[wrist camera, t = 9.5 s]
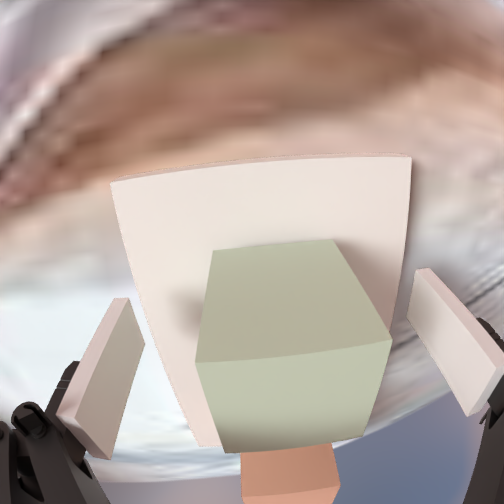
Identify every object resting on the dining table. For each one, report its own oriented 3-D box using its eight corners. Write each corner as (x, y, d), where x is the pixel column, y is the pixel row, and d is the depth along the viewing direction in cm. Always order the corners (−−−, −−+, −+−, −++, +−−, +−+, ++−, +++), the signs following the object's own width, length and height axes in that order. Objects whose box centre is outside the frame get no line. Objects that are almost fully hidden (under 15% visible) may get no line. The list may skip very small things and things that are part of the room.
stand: (199, 435, 24) (193, 523, 16) (119, 176, 14) (7, 258, 6) (358, 418, 23) (382, 502, 15) (400, 153, 14) (529, 211, 6)
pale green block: (228, 341, 16) (224, 453, 10) (212, 250, 13) (194, 362, 7) (327, 330, 16) (362, 436, 10) (332, 239, 13) (392, 339, 7)
